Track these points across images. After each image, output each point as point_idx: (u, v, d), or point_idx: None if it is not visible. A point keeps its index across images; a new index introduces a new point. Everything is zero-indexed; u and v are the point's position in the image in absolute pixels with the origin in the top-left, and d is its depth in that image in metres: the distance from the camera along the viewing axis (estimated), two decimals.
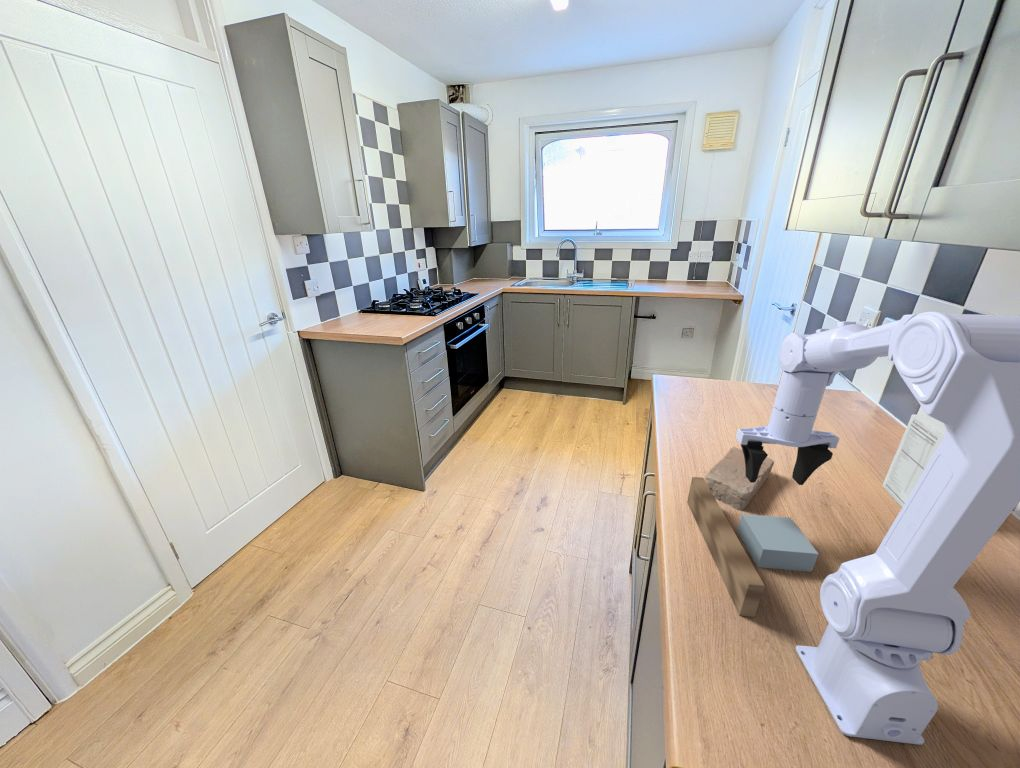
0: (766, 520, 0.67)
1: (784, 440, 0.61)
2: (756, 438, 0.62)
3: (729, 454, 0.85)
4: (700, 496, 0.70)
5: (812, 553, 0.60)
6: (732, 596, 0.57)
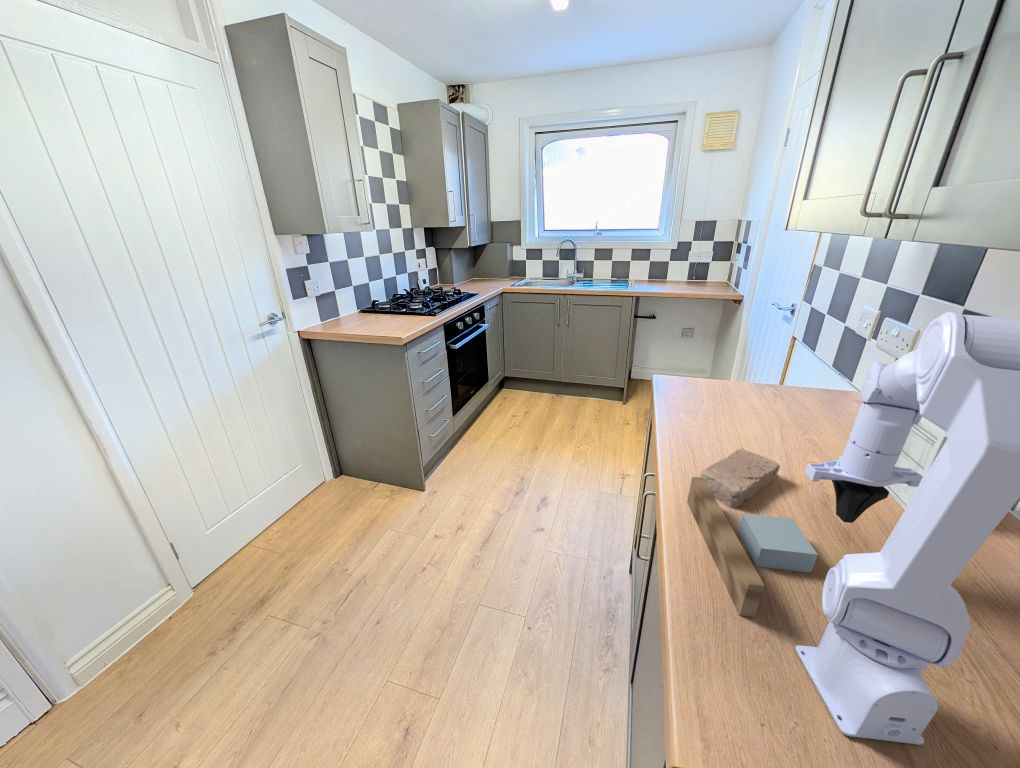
0: (767, 520, 0.67)
1: (862, 479, 0.56)
2: (830, 475, 0.58)
3: (734, 454, 0.85)
4: (700, 496, 0.70)
5: (811, 553, 0.60)
6: (732, 596, 0.57)
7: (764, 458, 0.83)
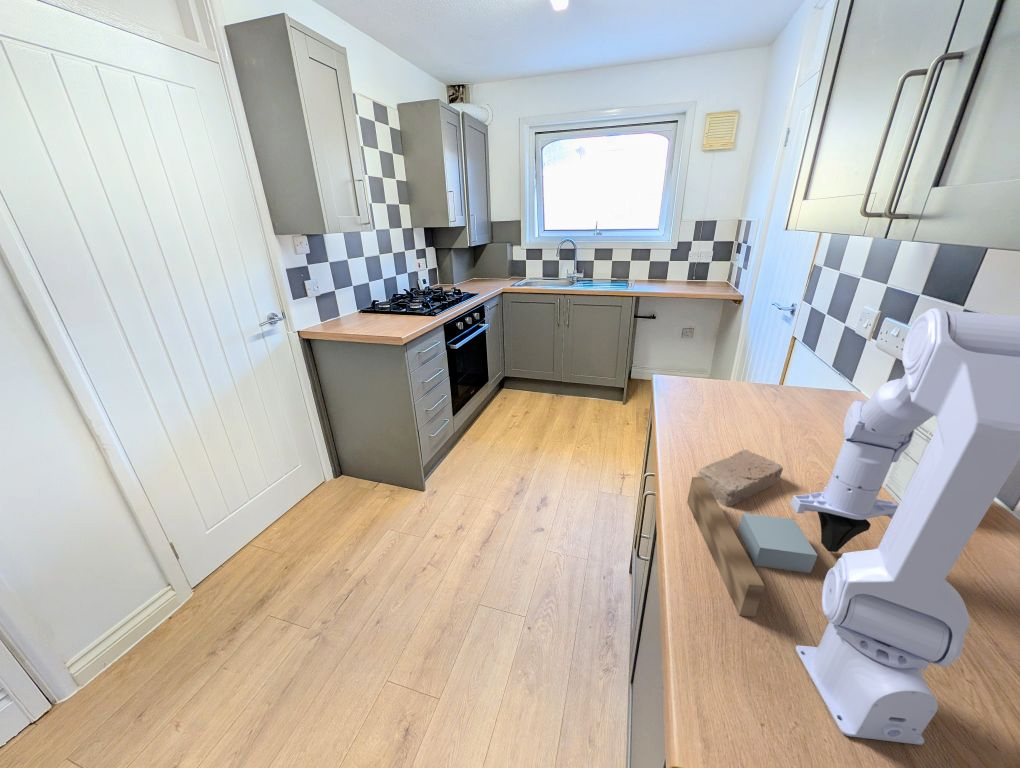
0: (767, 520, 0.67)
1: (845, 512, 0.58)
2: (814, 508, 0.60)
3: (736, 455, 0.84)
4: (700, 496, 0.70)
5: (811, 554, 0.60)
6: (732, 596, 0.57)
7: (767, 460, 0.82)
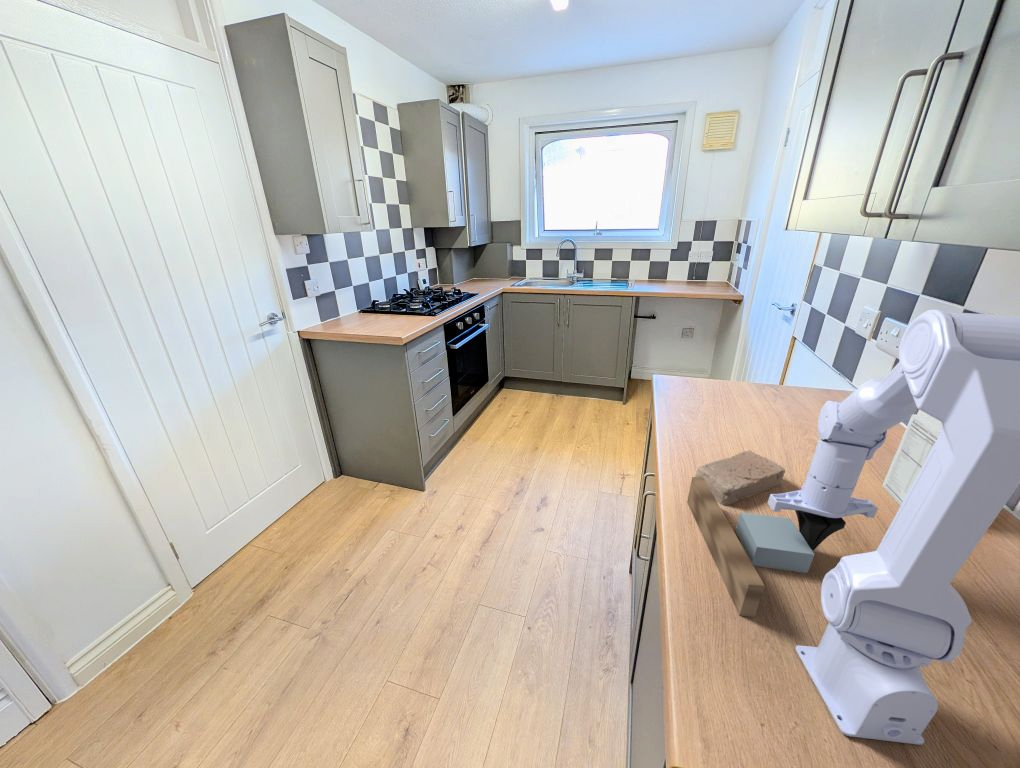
0: (765, 519, 0.66)
1: (820, 510, 0.59)
2: (790, 506, 0.60)
3: (738, 455, 0.84)
4: (700, 496, 0.70)
5: (808, 553, 0.60)
6: (732, 596, 0.57)
7: (770, 462, 0.82)
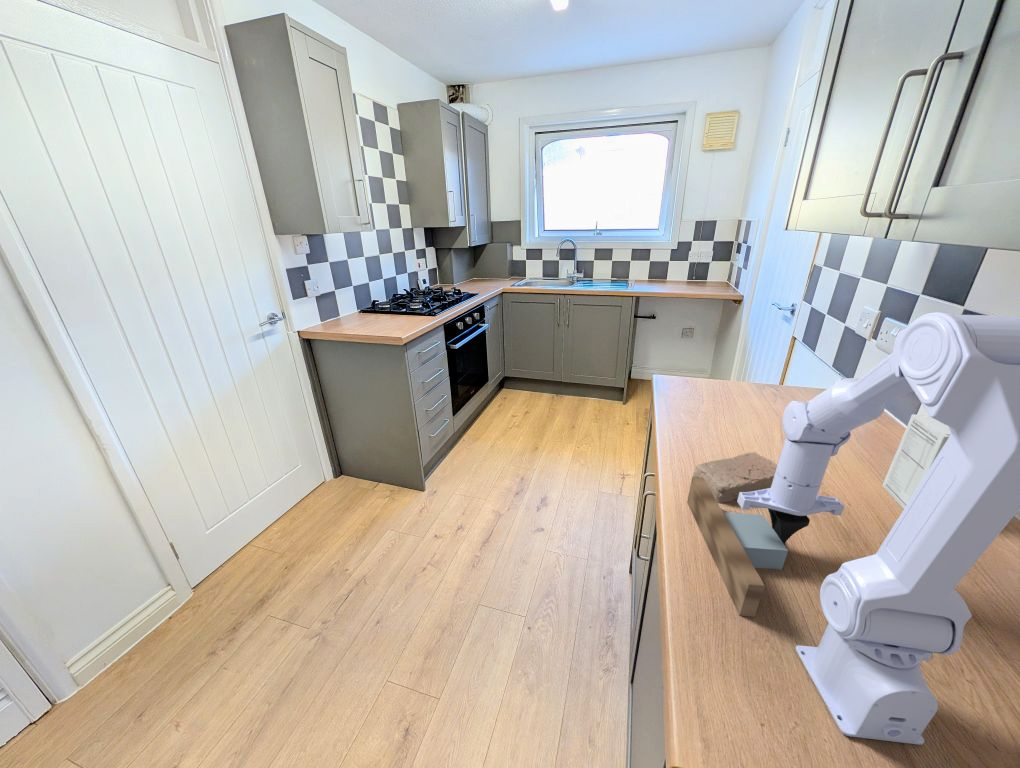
0: (739, 517, 0.67)
1: (787, 508, 0.59)
2: (758, 504, 0.61)
3: (741, 456, 0.84)
4: (700, 496, 0.70)
5: (782, 550, 0.60)
6: (732, 596, 0.57)
7: (773, 464, 0.81)
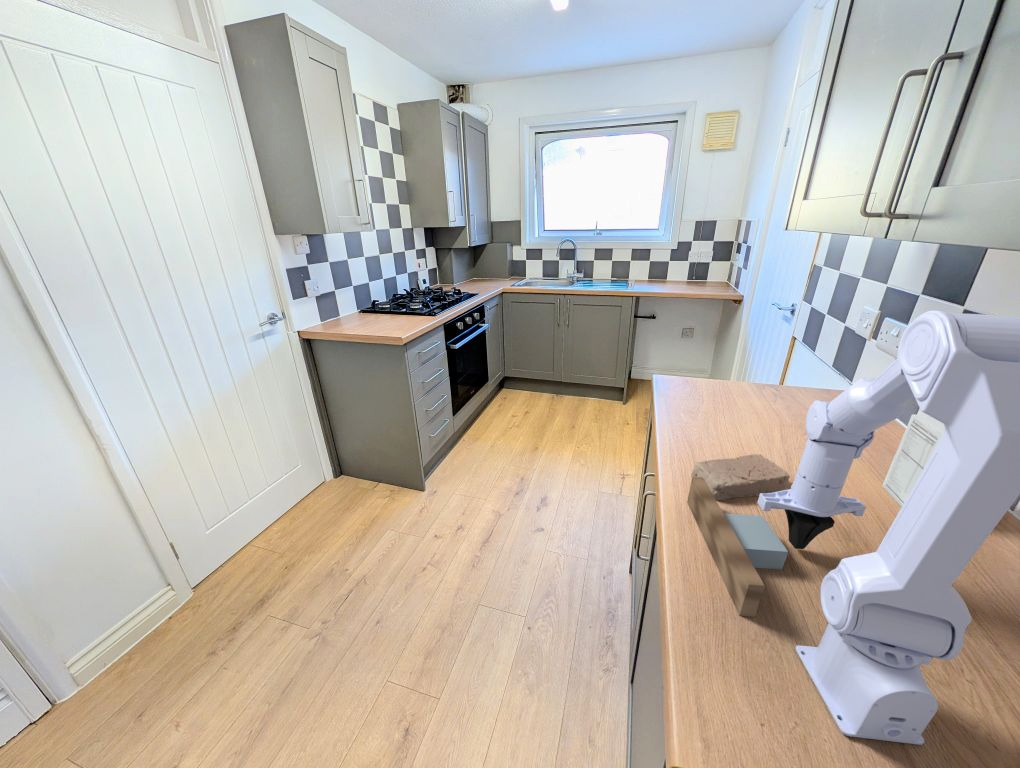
0: (738, 519, 0.67)
1: (809, 509, 0.59)
2: (779, 506, 0.60)
3: (744, 457, 0.84)
4: (700, 496, 0.70)
5: (782, 551, 0.60)
6: (732, 596, 0.57)
7: (776, 466, 0.80)
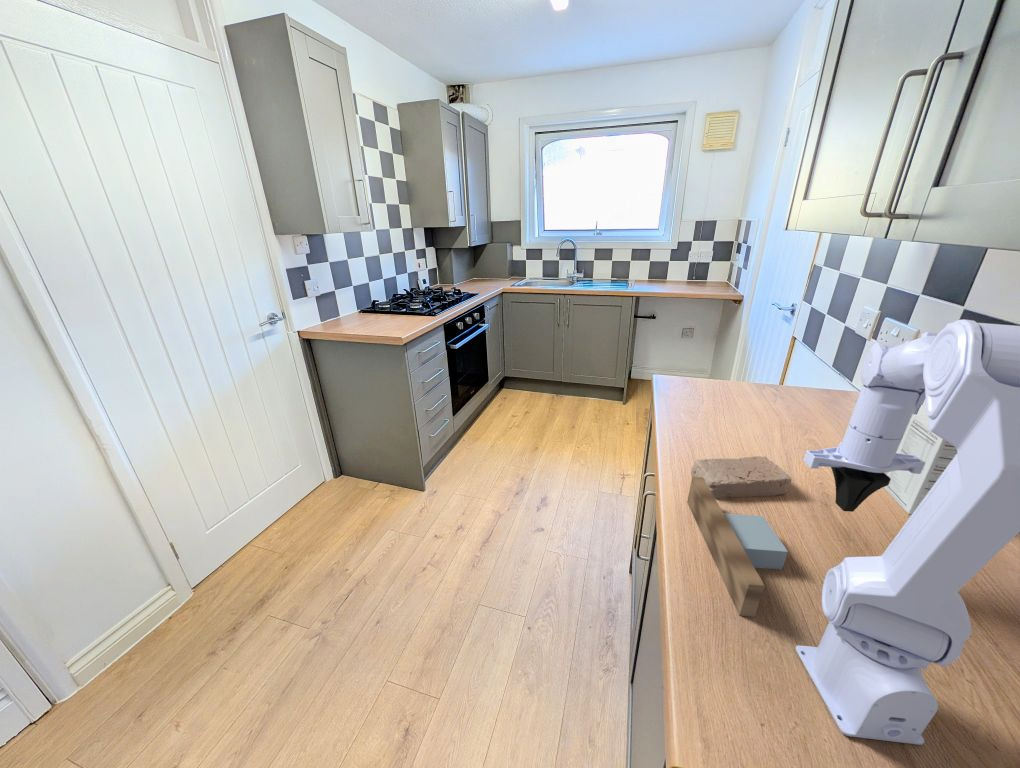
0: (739, 519, 0.67)
1: (863, 465, 0.54)
2: (829, 462, 0.56)
3: (748, 458, 0.83)
4: (700, 496, 0.70)
5: (782, 551, 0.60)
6: (732, 596, 0.57)
7: (779, 469, 0.79)
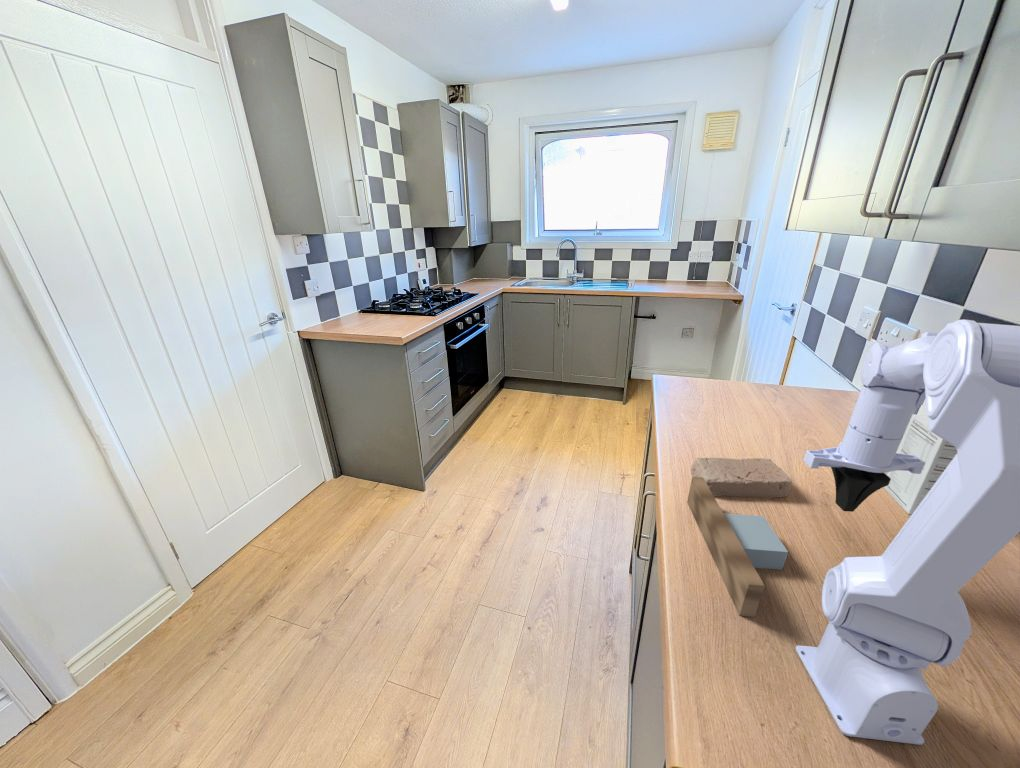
0: (739, 519, 0.67)
1: (863, 465, 0.54)
2: (829, 462, 0.56)
3: (751, 459, 0.83)
4: (700, 496, 0.70)
5: (782, 551, 0.60)
6: (732, 596, 0.57)
7: (781, 472, 0.78)
